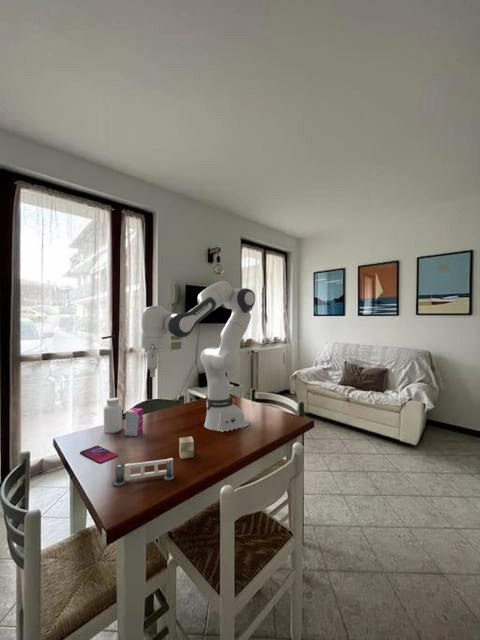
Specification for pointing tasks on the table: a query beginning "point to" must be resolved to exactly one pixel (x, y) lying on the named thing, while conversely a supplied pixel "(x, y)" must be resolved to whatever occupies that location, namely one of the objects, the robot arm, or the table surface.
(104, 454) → the smartphone
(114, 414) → the pill bottle
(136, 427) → the supplement box
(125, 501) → the table surface
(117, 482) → the hinge post
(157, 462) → the gate
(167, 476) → the post
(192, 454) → the beech block
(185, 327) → the robot arm
